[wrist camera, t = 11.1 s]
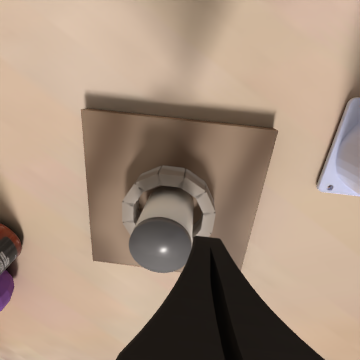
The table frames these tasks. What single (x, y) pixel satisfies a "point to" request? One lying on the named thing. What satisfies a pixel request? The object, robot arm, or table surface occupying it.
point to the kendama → (5, 288)
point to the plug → (164, 230)
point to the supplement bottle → (8, 247)
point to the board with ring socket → (172, 176)
